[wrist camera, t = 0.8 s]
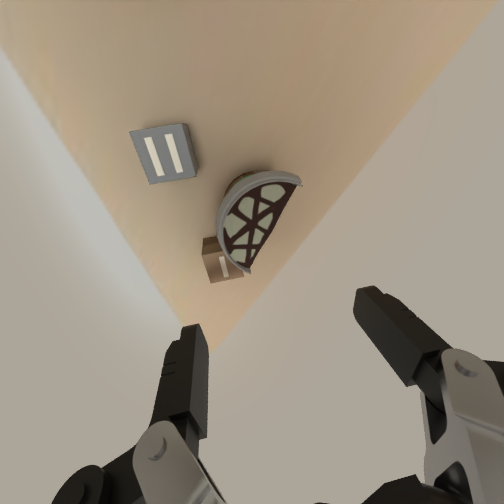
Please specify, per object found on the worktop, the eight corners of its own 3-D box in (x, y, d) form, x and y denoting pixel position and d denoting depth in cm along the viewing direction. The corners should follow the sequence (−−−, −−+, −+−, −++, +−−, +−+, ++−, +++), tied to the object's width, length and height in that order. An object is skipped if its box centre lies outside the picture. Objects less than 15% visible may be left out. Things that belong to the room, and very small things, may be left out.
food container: (236, 141, 26) (248, 148, 18) (277, 164, 28) (305, 180, 20) (202, 225, 31) (198, 262, 22) (239, 239, 33) (248, 277, 25)
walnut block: (203, 238, 32) (201, 256, 28) (234, 232, 32) (238, 248, 28) (211, 264, 35) (210, 284, 30) (240, 258, 35) (244, 277, 31)
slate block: (143, 130, 24) (128, 131, 20) (186, 123, 24) (181, 123, 20) (159, 175, 27) (149, 184, 22) (198, 168, 27) (195, 176, 23)
